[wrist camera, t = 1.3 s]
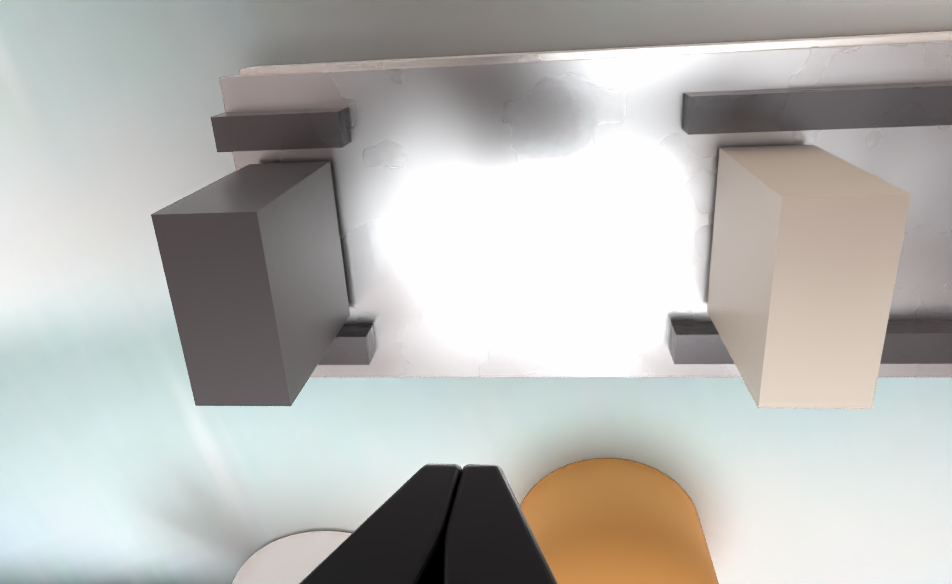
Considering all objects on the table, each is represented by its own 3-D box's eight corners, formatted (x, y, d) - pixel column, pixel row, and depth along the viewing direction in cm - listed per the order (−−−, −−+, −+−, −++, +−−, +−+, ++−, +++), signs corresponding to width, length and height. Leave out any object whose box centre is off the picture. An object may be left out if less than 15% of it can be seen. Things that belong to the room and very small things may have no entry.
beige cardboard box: (813, 144, 15) (911, 194, 11) (791, 310, 17) (871, 408, 13) (719, 148, 16) (781, 197, 11) (706, 311, 17) (757, 408, 13)
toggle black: (330, 161, 17) (256, 211, 12) (350, 314, 18) (290, 406, 14) (249, 164, 17) (151, 214, 13) (275, 315, 18) (195, 405, 14)
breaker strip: (1005, 26, 16) (1092, 29, 14) (937, 341, 19) (998, 393, 17) (251, 64, 18) (202, 73, 16) (297, 345, 21) (262, 391, 19)
